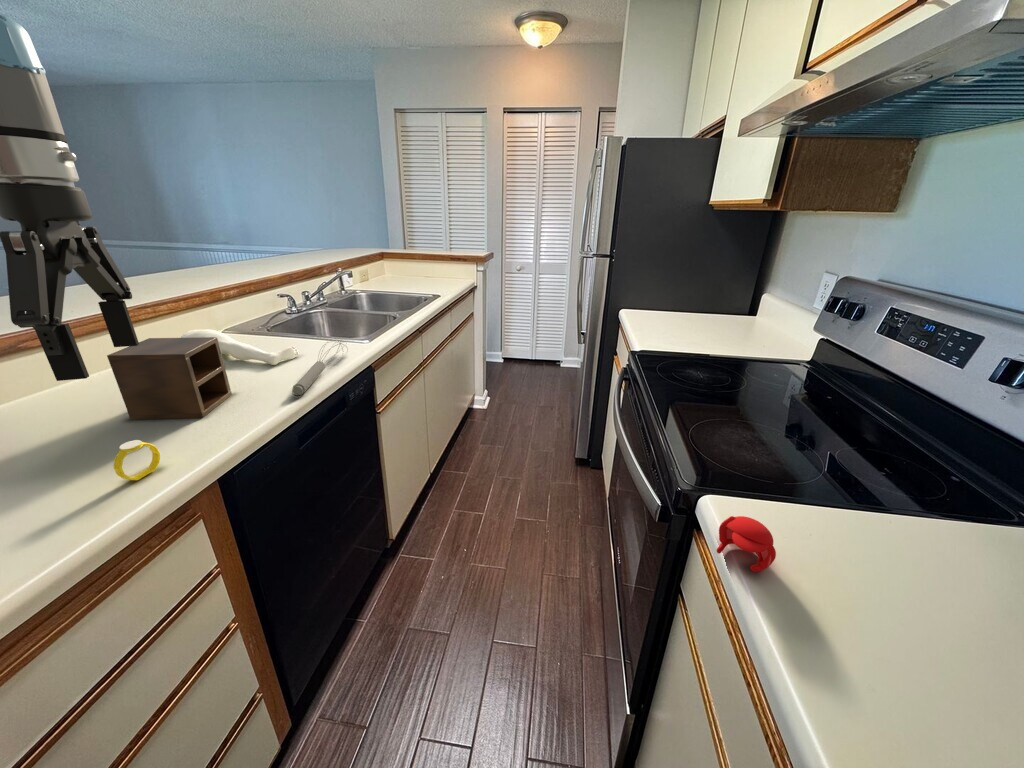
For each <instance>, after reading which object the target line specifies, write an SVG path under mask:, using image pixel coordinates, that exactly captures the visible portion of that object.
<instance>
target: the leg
mask: <svg viewBox="0 0 1024 768" xmlns="http://www.w3.org/2000/svg"><path fill="white" fill-rule="evenodd" d="M201 337H217V339H218V343H219V347H220V351H221V355H230V356H231V357H232V358H233V359H236V360H240V361H250V360H254V361H259V362H264V363H266V364H268V365H270V366H271V365H272V366H277V365H278V364H279V362H281V361H288V360H293V359H295V358H296V357H299V356H300V352H299V350H298V348H296V347H295V346H288V347H286V348H284V349H281V350H278V351H276V352H267V351H265V350H262V349H260V348H257V347H255V346H252V345H250V344H247V343H245V342H239V341H237V340H235V339H234V338H232V337H230V336H229V335H227V334H226V333H223V332H220V331H217V330H214V329H191V330H188V331H186V332H185V333H184V334H182V335H181V336H180V338H201Z"/></svg>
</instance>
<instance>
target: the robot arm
mask: <svg viewBox="0 0 1024 768" xmlns="http://www.w3.org/2000/svg"><path fill="white" fill-rule="evenodd" d="M46 73H47V72H46V69H45V67H44V66H43V65H42V62H41V61H40V58H39V55H38V53H37V51H36V48H35V46H34V43H33V41H32V38H31V36H30V34H29V33H28V31H27V30H26V28H24V27H23V26H22V25H21V24H19V23H18V22H17V21H15V20H13V19H11V18H9V17H7V16H6V15H3V14H0V217H1V218H2V219H4V220H6V221H9V222H10V221H11V222H18V223H19V225H20V230H2V231H0V241H1V244H2V247H3V250H4V253H5V260H6V263H5V264H6V274H7V286H8V299H9V312H10V321H11V323H12V324H13V325H14V326H17V327H19V328H20V329H25V328H27V329H28V328H32V329H33V330H34V332H35V334H36V336H37V339H38V340H39V342H40V345H41V348H42V350H43V352H44V355H45V357H46V359H47V361H48V364H49V367H50V368H51V371H52V373H53V375H54V378H55V380H56V382H61V381H63V382H64V381H73V380H85V379H88V378H89V377H90V375H89V372H88V368H87V367H86V364H85V361H84V359H83V356H82V354H81V351H80V349H79V346H78V344H77V340H76V339H75V335H74V334H73V331H72V329H71V326H70V323H63V310H64V301H65V293H66V281H67V276H68V275H71V273H72V272H73V271H74V272H75V273H76V274H77V276H79V277H80V278H81V279H82V280H83V281H84V282H85V284H86V285H87V286H89V287H90V288H91V290H92V291H93V292H94V293H95V294H96V295H97V296H98V297H99V298H100V300H103V301H99V302H97V303H98V306H99V309H100V312H101V315H102V317H103V321H104V323H105V325H106V328H107V331H108V334H109V337H110V339H111V342H112V345H113V348H127V347H129V346H137V345H139V342H140V341H139V339H138V336H137V333H136V331H135V327H134V324H133V322H132V317H131V315H130V313H129V310H128V306H127V303H126V301H125V300H132V299H133V294H132V291H131V287H130V286H129V283H128V282H127V281H126V279H125V278H124V275H123V274H122V272H121V271H120V269H119V268H118V266H117V264H116V262H115V260H114V259H113V257H112V256H111V254H110V252H109V251H108V249H107V248H106V246H105V244H104V242H103V239H102V237H101V235H100V231H99V230H98V228H97V227H96V226H82V225H81V224H80V223H79V222H87V221H90V220H92V219H93V213H92V209H91V208H90V204H89V201H88V199H87V195H86V192H85V190H83V189H82V188H81V187H80V186H79V187H78V186H76V185H75V183H77V182H79V181H80V177H79V174H78V171H77V167H76V164H75V162H76V161H77V160H78V159H77V158H78V157H77V155H76V154H75V153H74V152H71V150H70V147H69V144H68V141H67V138H66V134H65V131H64V127H63V125H62V121H61V119H60V115H59V112H58V109H57V106H56V103H55V100H54V96H53V94H52V91H51V88H50V85H49V82H48V79H47V76H46V75H47V74H46Z"/></svg>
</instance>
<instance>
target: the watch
mask: <svg viewBox="0 0 1024 768" xmlns="http://www.w3.org/2000/svg"><path fill="white" fill-rule="evenodd" d="M143 446H145V447H147V448H148V449H149V450H150V452H151V453H152V454H151V455H152V456H151V461H150V464H149V465H148V467H147V468H145V469H143V470H142V471H140V472H139V473H137V474H135V475H133V476H129V475H127V474H126V473H125V471H124V468H123V462H124V459H125V457H126V456H127V455H128V453H132V452H136V451H139V450H140V449H141V448H143ZM118 449H119V451H118V452H117V454H116V455H115V457H114V460H113V465H112V466H113V470H114V472H115V474H116V475H117V476H118V477H120V478H121V479H122V480H123V479H124V480H127V481H139V480H141V479H142V478H144V477H146V476H147V475H149V474H151V473H153V472H155V471H156V470H157V468H158V466H159V464H160V462H161V452H160V451H159V449H158V447H157V446H156V445H154V444H152V443H149V442H144V441H142V440H140V439H134V440H128V441H126V442H124V443H122V444H120V445H119V447H118Z"/></svg>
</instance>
